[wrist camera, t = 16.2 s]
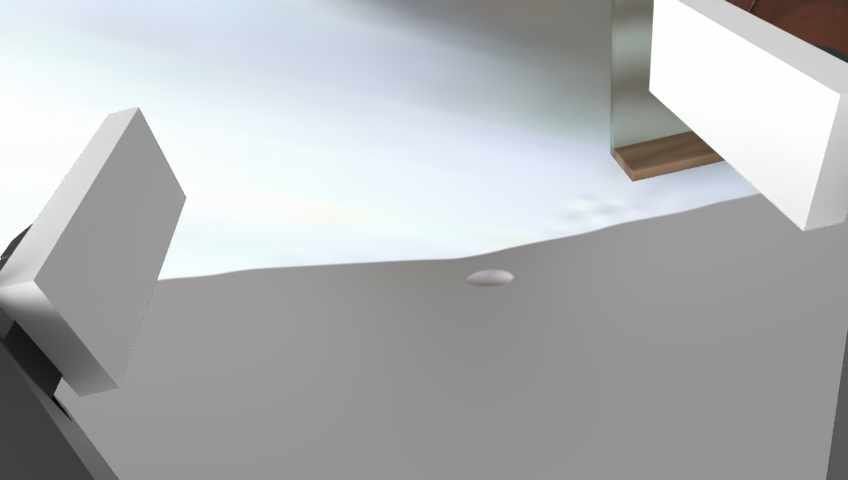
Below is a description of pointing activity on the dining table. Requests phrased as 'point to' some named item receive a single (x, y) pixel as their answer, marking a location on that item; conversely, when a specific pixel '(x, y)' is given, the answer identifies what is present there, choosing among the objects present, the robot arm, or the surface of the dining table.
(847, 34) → the ice cream bowl
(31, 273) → the robot arm
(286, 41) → the dining table surface
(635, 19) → the bay
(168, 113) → the dining table surface
